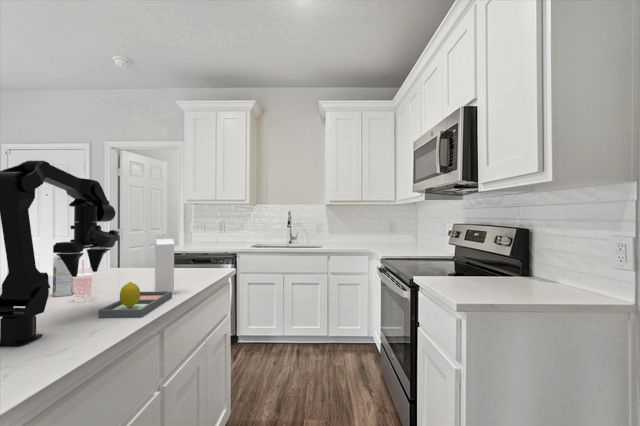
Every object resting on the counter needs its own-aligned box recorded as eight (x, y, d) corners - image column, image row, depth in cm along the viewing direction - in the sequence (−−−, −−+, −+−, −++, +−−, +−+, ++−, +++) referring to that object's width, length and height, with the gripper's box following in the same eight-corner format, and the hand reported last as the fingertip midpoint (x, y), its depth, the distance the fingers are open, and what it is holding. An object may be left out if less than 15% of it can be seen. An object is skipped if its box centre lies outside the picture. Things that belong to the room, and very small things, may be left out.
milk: (154, 293, 131) (154, 235, 131) (171, 291, 134) (171, 234, 135) (156, 296, 126) (156, 235, 126) (174, 294, 129) (174, 235, 129)
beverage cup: (91, 301, 118) (92, 260, 119) (70, 303, 116) (70, 261, 116) (94, 297, 124) (94, 258, 124) (73, 299, 121) (74, 259, 121)
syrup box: (56, 293, 130) (56, 254, 130) (75, 292, 132) (75, 254, 132) (52, 297, 124) (52, 256, 124) (72, 295, 127) (72, 255, 127)
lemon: (131, 311, 103) (131, 284, 103) (115, 310, 104) (115, 283, 104) (144, 306, 108) (144, 280, 108) (128, 305, 110) (129, 279, 110)
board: (141, 317, 101) (141, 309, 101) (98, 317, 100) (98, 310, 100) (171, 297, 125) (171, 291, 125) (137, 297, 124) (137, 291, 124)
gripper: (93, 222, 95) (92, 279, 95) (129, 221, 114) (128, 269, 114) (51, 222, 95) (51, 279, 95) (95, 221, 114) (94, 269, 113)
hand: (85, 274), depth 104 cm, fingers open, 9 cm apart
